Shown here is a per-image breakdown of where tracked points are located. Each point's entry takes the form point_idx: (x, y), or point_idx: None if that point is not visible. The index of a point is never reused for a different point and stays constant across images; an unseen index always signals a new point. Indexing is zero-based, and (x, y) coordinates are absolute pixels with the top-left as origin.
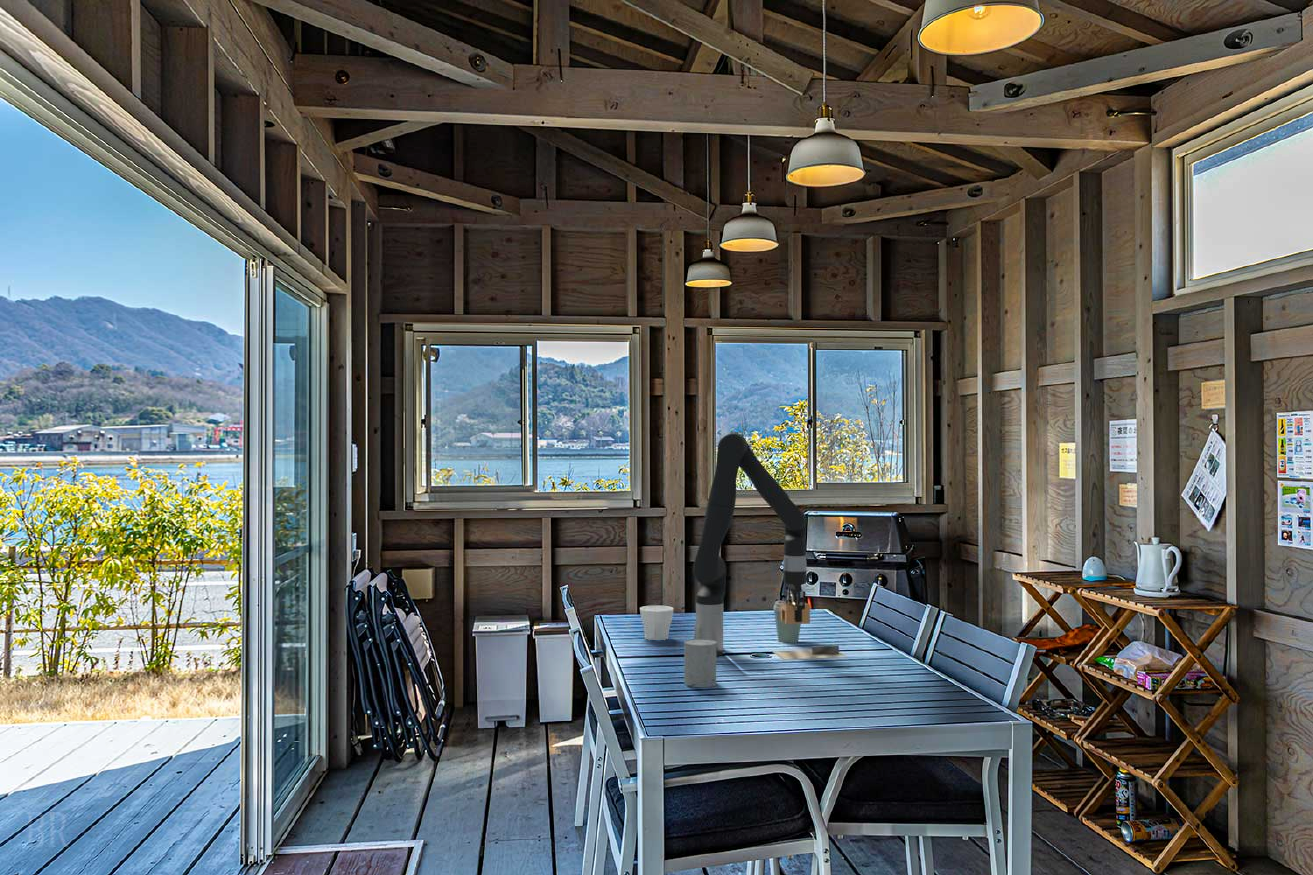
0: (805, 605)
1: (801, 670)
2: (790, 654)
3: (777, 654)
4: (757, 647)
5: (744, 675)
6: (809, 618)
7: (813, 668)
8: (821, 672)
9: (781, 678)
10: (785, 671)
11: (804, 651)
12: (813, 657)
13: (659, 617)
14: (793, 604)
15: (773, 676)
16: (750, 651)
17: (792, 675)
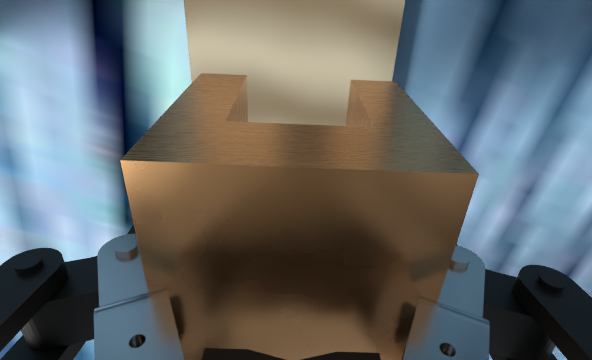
0: (451, 235)
1: (506, 143)
2: (282, 120)
3: None
4: (18, 176)
5: None
6: (406, 99)
7: (499, 75)
8: (587, 68)
9: (575, 250)
10: (490, 207)
11: (218, 12)
12: (382, 21)
13: None
14: None
15: (535, 264)
16: (111, 225)
17: (560, 204)
